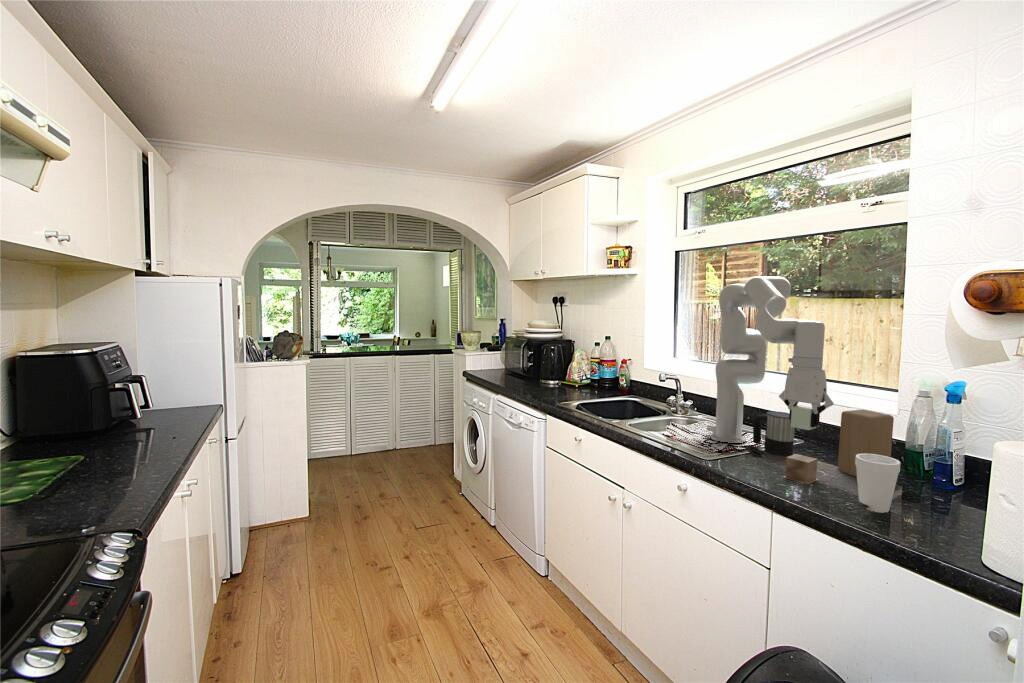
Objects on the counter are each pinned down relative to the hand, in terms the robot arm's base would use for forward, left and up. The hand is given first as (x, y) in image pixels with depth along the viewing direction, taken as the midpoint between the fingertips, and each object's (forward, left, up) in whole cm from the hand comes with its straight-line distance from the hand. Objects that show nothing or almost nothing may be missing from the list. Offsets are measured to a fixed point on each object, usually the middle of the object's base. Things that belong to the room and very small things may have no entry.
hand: (803, 424), depth 150 cm
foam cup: (+20, -4, -18) cm, 27 cm away
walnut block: (0, 0, -16) cm, 16 cm away
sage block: (0, 0, -1) cm, 1 cm away
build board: (-2, +2, -18) cm, 18 cm away
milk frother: (-18, +18, -18) cm, 31 cm away
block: (+9, +21, -18) cm, 29 cm away
